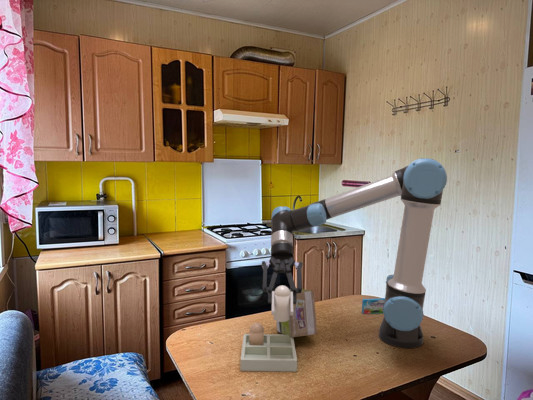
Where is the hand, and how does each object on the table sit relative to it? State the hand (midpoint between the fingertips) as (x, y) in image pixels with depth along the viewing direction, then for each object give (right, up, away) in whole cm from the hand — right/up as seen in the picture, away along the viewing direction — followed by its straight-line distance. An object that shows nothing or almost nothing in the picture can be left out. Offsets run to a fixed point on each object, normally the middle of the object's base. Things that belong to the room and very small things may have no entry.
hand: (282, 313), depth 112 cm
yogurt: (+42, -14, +46) cm, 64 cm away
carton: (-4, -17, +9) cm, 19 cm away
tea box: (+3, -8, +30) cm, 31 cm away
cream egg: (0, -3, +4) cm, 5 cm away
